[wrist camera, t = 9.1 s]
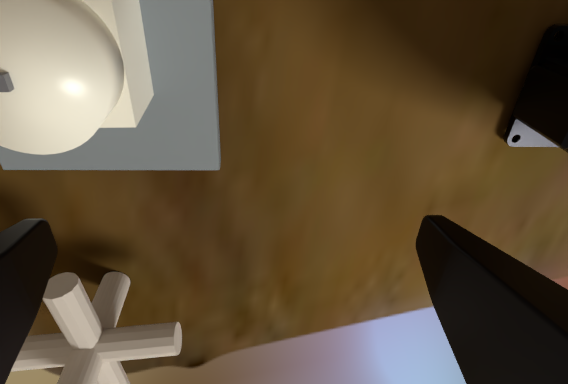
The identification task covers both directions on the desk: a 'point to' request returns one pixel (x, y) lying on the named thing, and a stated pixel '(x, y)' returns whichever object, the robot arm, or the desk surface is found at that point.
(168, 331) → the pipe connector
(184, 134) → the panel
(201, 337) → the desk surface
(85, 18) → the knob
